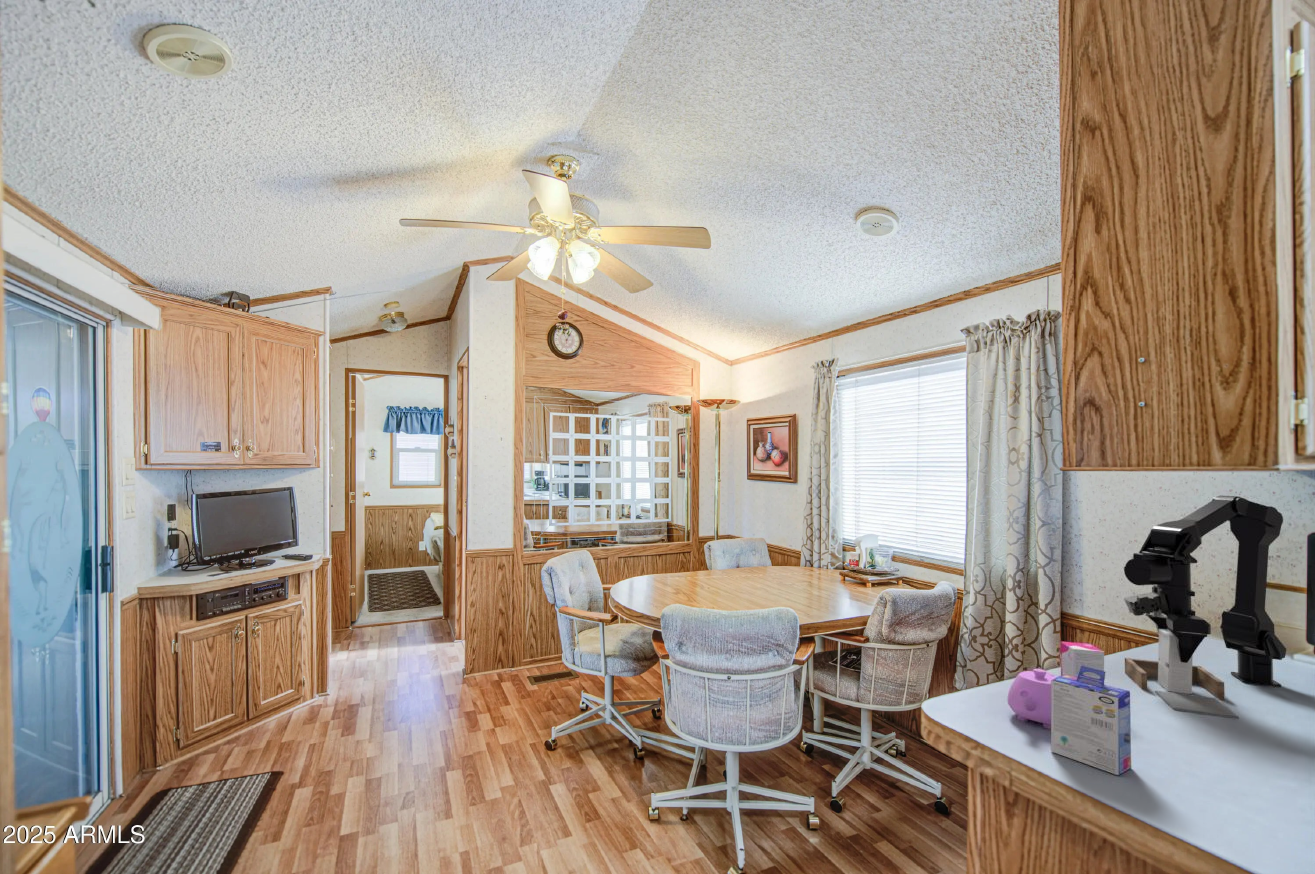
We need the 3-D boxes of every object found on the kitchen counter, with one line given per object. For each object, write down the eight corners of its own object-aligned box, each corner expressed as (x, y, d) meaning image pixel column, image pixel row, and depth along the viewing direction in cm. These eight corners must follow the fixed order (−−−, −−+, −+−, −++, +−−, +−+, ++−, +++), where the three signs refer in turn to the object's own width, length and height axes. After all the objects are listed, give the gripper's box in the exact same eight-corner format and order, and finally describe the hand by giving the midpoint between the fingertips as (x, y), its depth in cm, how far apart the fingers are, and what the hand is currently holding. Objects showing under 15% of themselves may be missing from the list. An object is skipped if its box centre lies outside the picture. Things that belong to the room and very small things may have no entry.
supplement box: (1106, 709, 120) (1105, 651, 120) (1072, 707, 121) (1071, 648, 121) (1091, 698, 125) (1090, 642, 126) (1059, 696, 126) (1058, 640, 127)
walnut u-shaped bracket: (1124, 672, 141) (1124, 657, 141) (1201, 682, 136) (1200, 666, 136) (1141, 688, 131) (1141, 672, 131) (1224, 699, 126) (1224, 682, 126)
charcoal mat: (1154, 692, 129) (1154, 690, 129) (1214, 699, 125) (1214, 697, 125) (1173, 709, 120) (1173, 707, 120) (1238, 718, 116) (1238, 716, 116)
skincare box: (1156, 682, 135) (1155, 627, 136) (1182, 685, 134) (1180, 629, 134) (1168, 692, 130) (1167, 634, 130) (1194, 695, 128) (1193, 637, 128)
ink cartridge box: (1133, 767, 97) (1132, 675, 97) (1121, 777, 93) (1119, 682, 94) (1063, 743, 105) (1062, 658, 105) (1050, 752, 101) (1049, 664, 102)
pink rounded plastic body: (1084, 720, 115) (1083, 670, 115) (1055, 742, 105) (1054, 688, 106) (1023, 702, 123) (1023, 656, 123) (992, 722, 113) (991, 671, 114)
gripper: (1115, 573, 144) (1116, 639, 143) (1143, 588, 127) (1144, 663, 126) (1173, 577, 140) (1175, 645, 139) (1211, 593, 123) (1212, 671, 122)
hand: (1175, 655), depth 132 cm, fingers open, 9 cm apart
